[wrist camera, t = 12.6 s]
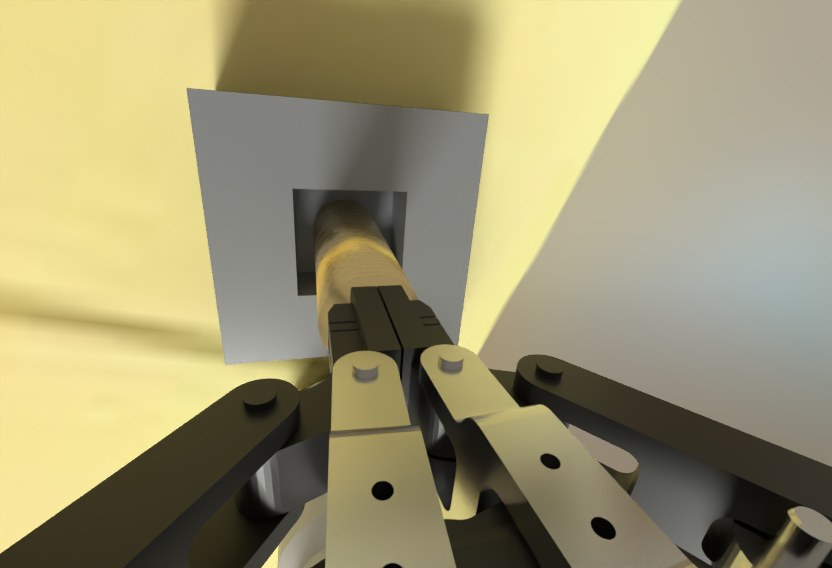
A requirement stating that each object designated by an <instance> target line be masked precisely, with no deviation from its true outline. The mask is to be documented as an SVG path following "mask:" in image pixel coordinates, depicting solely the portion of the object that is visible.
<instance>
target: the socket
mask: <svg viewBox="0 0 832 568" xmlns="http://www.w3.org/2000/svg"><path fill="white" fill-rule="evenodd" d="M187 95H188V102H189V109H190V116H191V124H192V131H193V138H194V145H195V152H196V159H197V166H198V173H199V181H200V188H201V195H202V202H203V209H204V216H205V223H206V230H207V238H208V245H209V252H210V259H211V266H212V273H213V280H214V287H215V295H216V302H217V309H218V316H219V323H220V330H221V337H222V345H223V352H224V359H225V365H230V364H242V363H254V362H267V361H279V360H291V359H303V358H315V357H328V356H329V354H328V350H327V349H326V347H325V346H324V344H323V343H322V340H321V338H320V335H319V329H318V311H317V289H316V267H315V245H314V223H315V219H316V217H317V215H318V213H319V212H320V211H321V209H322V208H324V207H325V206H326V205H327V204H329V203H331V202H334V201H337V200H351V201H355V202H357V203H359V204H361V205H363V206H364V207H365V208H366V209H367V210H368V211H369V213H370V214H371V216H372V217H373V219H374V221H375V223H376V225H377V226H378V228H379V230H380V232H381V233H382V235H383V237H384V239H385V240H386V242H387V244H388V246H389V248H390V249H391V251H392V253H393V255H394V256H395V258H396V260H397V262H398V263H399V265H400V267H401V269H402V271H403V272H404V274H405V276H406V278H407V279H408V281H409V283H410V285H411V286H412V288H413V290H414V292H415V294H416V295H417V297H418V299H419V300H420V301H422V302H423V303H425V304H426V305H428V306H429V307H431V309H432V310H433V312H434V314H435V315H436V318H438V320H439V321H440V323H441V325H442V326H443V328H444V329H445V331H446V333H447V334H448V336H449V337H450V339H451V340H452V342H453V344H454V345H456V346H458V341H459V333H460V326H461V318H462V311H463V303H464V296H465V288H466V281H467V273H468V266H469V258H470V251H471V243H472V236H473V228H474V221H475V213H476V206H477V198H478V191H479V183H480V176H481V168H482V161H483V153H484V146H485V138H486V131H487V123H488V116H489V114H478V113H467V112H455V111H444V110H432V109H421V108H409V107H398V106H386V105H375V104H363V103H352V102H340V101H329V100H317V99H306V98H294V97H283V96H272V95H260V94H249V93H237V92H226V91H214V90H203V89H191V88H187Z"/></svg>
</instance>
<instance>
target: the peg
mask: <svg viewBox="0 0 832 568" xmlns="http://www.w3.org/2000/svg"><path fill="white" fill-rule="evenodd" d="M314 245H315V267H316V289H317V311H318V329H319V335H320V338H321V340H322V343H323V344H324V346H325V347H326V349H327V350H328V311H329V310H330V309H331V307H332V306H333V305H334V304H343V303H350V291H351V287H364V286H376V287H377V286H388V285H402V287H403V289H404V291H405V292H406V294H407V296H408V298H409V300H419V299H418V297H417V295H416V294H415V292H414V290H413V288H412V286H411V285H410V283H409V281H408V279H407V278H406V276H405V274H404V272H403V271H402V269H401V267H400V265H399V263H398V262H397V260H396V258H395V256H394V255H393V253H392V251H391V249H390V248H389V246H388V244H387V242H386V240H385V239H384V237H383V235H382V233H381V232H380V230H379V228H378V226H377V225H376V223H375V221H374V219H373V217H372V216H371V214H370V213H369V211H368V210H367V209H366V208H365V207H364V206H363V205H361V204H359V203H357V202H355V201H351V200H337V201H334V202H331V203H329V204H327V205H326V206H325V207H324V208H322V209H321V211H320V212H319V213H318V215H317V217H316V219H315V223H314Z"/></svg>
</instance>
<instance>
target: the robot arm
mask: <svg viewBox="0 0 832 568" xmlns="http://www.w3.org/2000/svg"><path fill="white" fill-rule="evenodd" d="M328 354H329V368H330V375H329V376H328V377H327V378H326V379H325V380H324V381H322V382H321V383H319V384H317V385H315V386H313V387H311V388H308V389H305V390H302V391H299V392H298V390H297V389H296V387H295V386H294V385H292V384H291V383H289V382H287V381H284V380H280V379H259V380H254V381H250V382H247V383H245V384H242V385H240V386H238V387H236V388H235V389H233V390H232V391H230V392H229V393H227V394H226V395H225V396H223V397H222V398H220V399H219V400H217V401H216V402H215V403H213V404H212V405H210V406H209V407H208V408H206V409H205V410H203V411H202V412H200V413H199V414H198V415H196V416H195V417H193V418H192V419H191V420H189V421H188V422H186V423H185V424H183V425H182V426H181V427H179V428H178V429H176V430H175V431H174V432H172V433H171V434H169V435H168V436H166V437H165V438H164V439H162V440H161V441H159V442H158V443H157V444H155V445H154V446H152V447H151V448H149V449H148V450H147V451H145V452H144V453H142V454H141V455H140V456H138V457H137V458H135V459H134V460H132V461H131V462H130V463H128V464H127V465H125V466H124V467H123V468H121V469H120V470H118V471H117V472H115V473H114V474H113V475H111V476H110V477H108V478H107V479H106V480H104V481H103V482H101V483H100V484H98V485H97V486H96V487H94V488H93V489H91V490H90V491H89V492H87V493H86V494H84V495H83V496H81V497H80V498H79V499H77V500H76V501H74V502H73V503H72V504H70V505H69V506H67V507H66V508H64V509H63V510H62V511H60V512H59V513H57V514H56V515H55V516H53V517H52V518H50V519H49V520H47V521H46V522H45V523H43V524H42V525H40V526H39V527H38V528H36V529H35V530H33V531H32V532H30V533H29V534H28V535H26V536H25V537H23V538H22V539H21V540H19V541H18V542H16V543H15V544H13V545H12V546H11V547H9V548H8V549H6V550H5V551H4V552H2V553H1V554H0V568H261V567H262V566H263V565H264V563H265V562H266V561H267V559H268V558H269V557H270V555H271V554H272V553H273V552H274V550H275V549H276V548H277V546H278V545H279V544H280V543H281V541H282V540H283V539H284V537H285V536H286V535H287V533H288V532H289V531H290V530H291V528H292V527H293V526H294V524H295V523H296V522H297V521H298V519H299V518H300V516H301V515H302V512H303V510H304V507H305V503H307V502H309V501H311V500H313V499H315V498H317V497H319V496H321V495H323V494H325V493H327V492H328V497H327V528H326V558H324V559H323V560H321V561H320V562H318V563H317V564H315V565H314V566H312V567H310V568H832V467H831V466H828V465H825V464H823V463H820V462H818V461H815V460H813V459H810V458H808V457H805V456H803V455H800V454H798V453H795V452H792V451H790V450H788V449H785V448H782V447H780V446H777V445H775V444H772V443H770V442H767V441H765V440H762V439H760V438H757V437H755V436H752V435H750V434H747V433H745V432H742V431H740V430H737V429H735V428H732V427H730V426H727V425H724V424H722V423H719V422H717V421H714V420H712V419H709V418H707V417H704V416H702V415H699V414H697V413H694V412H691V411H689V410H687V409H684V408H682V407H679V406H676V405H674V404H671V403H669V402H666V401H664V400H661V399H659V398H656V397H654V396H651V395H649V394H646V393H643V392H641V391H638V390H636V389H633V388H631V387H628V386H626V385H623V384H621V383H618V382H616V381H613V380H611V379H608V378H606V377H603V376H600V375H598V374H596V373H593V372H591V371H588V370H586V369H583V368H581V367H578V366H575V365H573V364H570V363H568V362H565V361H563V360H560V359H558V358H555V357H551V356H547V355H528V356H525V357H523V358H521V359H520V360H519V362H518V364H517V369H516V372H510V371H501V370H493V369H488V368H487V367H486V366H485V365H484V364H483V362H482V361H481V360H480V359H479V358H478V356H477V355H476V354H474V353H473V352H472V351H470V350H468V349H466V348H463V347H460V346H456V345H454V344H453V342H452V340H451V339H450V337H449V336H448V334H447V333H446V331H445V329H444V328H443V326H442V325H441V323H440V321H439V320H438V318H436V315H435V314H434V312H433V310H432V309H431V307H429V306H428V305H426V304H425V303H423V302H422V301H420V300H409V298H408V296H407V294H406V292H405V291H404V289H403V287H402V285H388V286H377V287H376V286H364V287H351V291H350V303H343V304H334V305H333V306H332V307H331V309H330V310H329V311H328ZM569 424H571V425H574V426H576V427H578V428H580V429H582V430H584V431H586V432H588V433H590V434H592V435H594V436H597V437H599V438H601V439H603V440H605V441H607V442H609V443H611V444H613V445H616V446H618V447H620V448H622V449H624V450H625V451H627V452H629V453H630V454H632V455H633V456H634V457H635V459H636V460H637V462H638V463H639V464H638V467H637V469H636V470H635V471H634V472H632V473H621V472H618V471H616V470H614V469H612V468H610V467H608V466H606V465H604V464H602V463H600V462H598V461H597V460H596V459H595V458H594V457H593V456H592V455H591V453H590V452H589V451H588V450H587V449H586V448H585V447H584V446H583V445H582V444H581V443H580V442H579V440H578V439H577V438H576V437H575V436H574V435H573V434H572V433H571V432H570V431H569V430H568V427H569Z"/></svg>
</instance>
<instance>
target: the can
mask: <svg viewBox="0 0 832 568" xmlns="http://www.w3.org/2000/svg"><path fill="white" fill-rule="evenodd" d="M324 380H325V379H324ZM324 380H322V381H324ZM322 381H320V382H317V383H315V384H313V385H311V386H310V387H309V388H311V387H313V386H315V385H317V384H319V383H321V382H322ZM307 389H308V388H307ZM327 497H328V492H327V493H325V494H323V495H321V496H319V497H317V498H315V499H313V500H311V501H309V502H307V503H305V507H304V510H303V512H302V515H301V516H300V518H299V519H298V521H297V522H296V523H295V524H294V526H293V527H292V528H291V530H290V531H289V532H288V533H287V535H286V536H285V537H284V539H283V540H282V541H281V543H280V544H279V550H278V568H310V567H312V566H314V565H315V564H317V563H318V562H320V561H321V560H323V559H324V558H326V528H327Z"/></svg>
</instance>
